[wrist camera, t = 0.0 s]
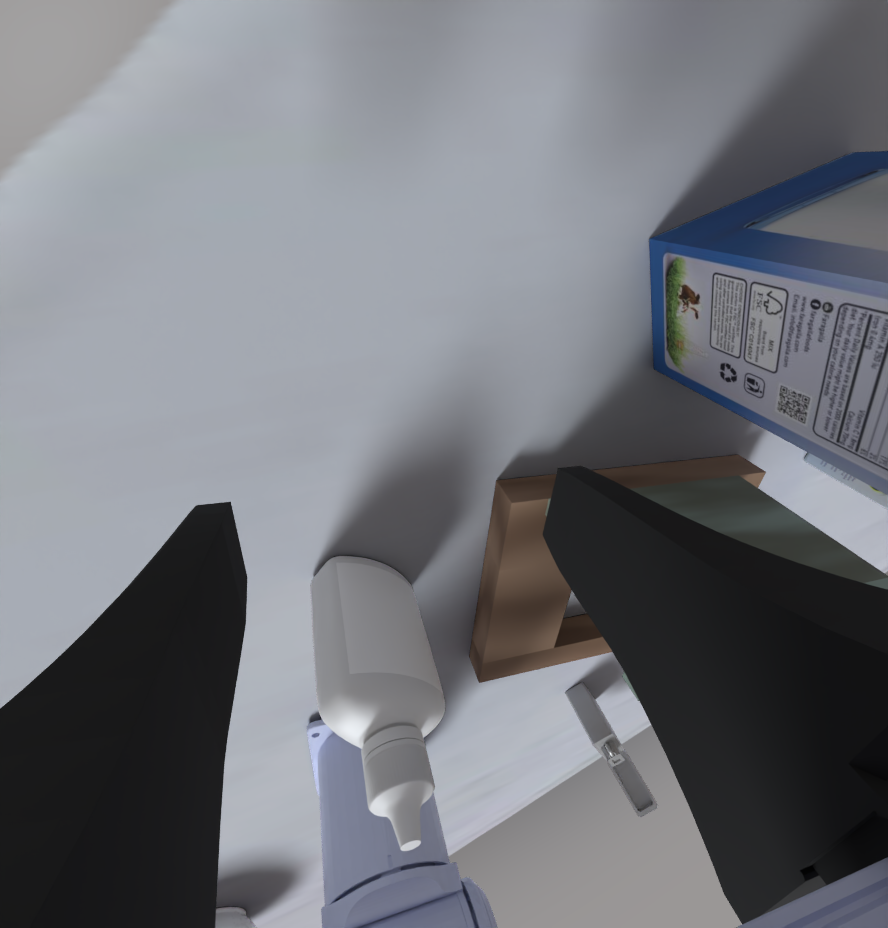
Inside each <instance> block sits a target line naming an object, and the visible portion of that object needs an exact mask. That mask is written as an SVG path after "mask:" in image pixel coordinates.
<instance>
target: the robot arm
mask: <svg viewBox="0 0 888 928" xmlns="http://www.w3.org/2000/svg"><path fill="white" fill-rule="evenodd" d="M542 535H543V537H544V539H545V542H546V544H547V546H548V548H549V550H550V553H551V555H552V557H553V559H554V561H555V563H556V565H557V567H558V569H559V571H560V572H561V574H562V576H563V577H564V579H565V580H566V582H567V583H568V585H569V586H570V588H571V590H572V591H573V593H574V594H575V596H576V597H577V599H578V600H579V602H580V603H581V605H582V606H583V608H584V609H585V611H586V612H587V614H588V615H589V617H590V618H591V620H592V621H593V623H594V624H595V626H596V627H597V629H598V630H599V632H600V633H601V635H602V636H603V638H604V639H605V641H606V642H607V644H608V645H609V647H610V649H611V650H612V652H613V653H614V655H615V657H616V658H617V660H618V662H619V663H620V665H621V667H622V668H623V670H624V672H625V674H626V676H627V678H628V680H629V682H630V684H631V685H632V687H633V689H634V691H635V693H636V695H637V697H638V699H639V701H640V703H641V704H642V706H643V708H644V710H645V712H646V714H647V716H648V718H649V721H650V723H651V725H652V727H653V728H654V731H655V733H656V735H657V737H658V739H659V741H660V743H661V745H662V747H663V749H664V751H665V753H666V755H667V758H668V760H669V762H670V764H671V767H672V769H673V771H674V773H675V776H676V778H677V780H678V782H679V784H680V787H681V789H682V791H683V793H684V795H685V798H686V800H687V802H688V804H689V807H690V809H691V812H692V814H693V817H694V819H695V821H696V824H697V826H698V829H699V831H700V833H701V836H702V839H703V841H704V843H705V846H706V848H707V851H708V853H709V856H710V858H711V861H712V863H713V866H714V868H715V871H716V874H717V876H718V879H719V882H720V884H721V887H722V889H723V892H724V894H725V896H726V898H727V900H728V901H729V903H730V904H731V906H732V908H733V909H734V911H735V913H736V914H737V916H738V918H739V919H740V921H741V923H742V925H740V926H738V927H736V928H888V589H884V588H880V587H876V586H873V585H869V584H865V583H862V582H858V581H855V580H851V579H848V578H845V577H841V576H838V575H835V574H832V573H828V572H825V571H822V570H819V569H816V568H813V567H810V566H807V565H804V564H800V563H797V562H795V561H792V560H789V559H786V558H783V557H780V556H777V555H775V554H772V553H769V552H767V551H764V550H762V549H759V548H757V547H754V546H751V545H749V544H746V543H744V542H741V541H738V540H736V539H734V538H731V537H729V536H727V535H724V534H722V533H719V532H717V531H715V530H713V529H711V528H708V527H706V526H704V525H702V524H700V523H697V522H695V521H693V520H691V519H689V518H687V517H685V516H683V515H680V514H678V513H676V512H674V511H672V510H670V509H668V508H666V507H664V506H662V505H660V504H658V503H656V502H654V501H652V500H650V499H648V498H646V497H644V496H642V495H640V494H638V493H636V492H635V491H633V490H631V489H629V488H627V487H625V486H623V485H621V484H619V483H617V482H615V481H613V480H611V479H609V478H607V477H605V476H603V475H601V474H598V473H596V472H594V471H592V470H589V469H587V468H584V467H582V466H575V467H566V468H558V470H557V474H556V479H555V483H554V487H553V491H552V496H551V500H550V504H549V508H548V513H547V517H546V521H545V525H544V530H543V534H542ZM246 602H247V574H246V570H245V565H244V561H243V556H242V552H241V547H240V542H239V538H238V533H237V529H236V524H235V520H234V515H233V510H232V506H231V502H225V503H215V504H205V505H196V506H195V507H194V509H193V510H192V511H191V512H190V513H189V514H188V515H187V517H186V518H185V519H184V520H183V522H182V523H181V524H180V525H179V527H178V528H177V529H176V530H175V532H174V533H173V534H172V535H171V536H170V538H169V539H168V540H167V541H166V543H165V544H164V545H163V546H162V547H161V549H160V550H159V551H158V552H157V553H156V555H155V556H154V557H153V558H152V559H151V560H150V562H149V563H148V564H147V565H146V566H145V567H144V569H143V570H142V571H141V572H140V573H139V574H138V575H137V577H136V578H135V579H134V580H133V581H132V582H131V583H130V585H129V586H128V587H127V588H126V589H125V590H124V591H123V592H122V593H121V595H120V596H119V597H118V598H117V599H116V600H115V601H114V602H113V603H112V604H111V605H110V606H109V607H108V608H107V609H106V610H105V611H104V612H103V613H102V614H101V615H100V617H99V618H98V619H97V620H96V621H95V622H94V623H93V624H92V625H91V626H90V627H89V628H88V629H87V630H86V631H85V632H84V633H83V634H82V635H81V636H80V637H79V638H78V639H77V640H76V641H75V642H74V643H73V644H72V645H71V646H70V647H69V648H68V649H67V650H66V651H65V652H64V653H63V654H62V655H60V656H59V657H58V658H57V659H56V660H55V661H54V662H53V663H52V664H51V665H50V666H49V667H47V668H46V669H45V670H44V671H43V672H42V673H41V674H40V675H39V676H37V677H36V678H35V679H34V680H33V681H32V682H31V683H30V684H29V685H27V686H26V687H25V688H24V689H23V690H22V691H21V692H19V693H18V694H17V695H16V696H15V697H14V698H12V699H11V700H10V701H9V702H8V703H6V704H5V705H4V706H3V707H2V708H0V928H215V921H216V896H217V876H218V858H219V839H220V821H221V805H222V790H223V775H224V762H225V753H226V745H227V737H228V731H229V724H230V718H231V712H232V706H233V700H234V694H235V687H236V681H237V675H238V669H239V663H240V657H241V650H242V644H243V638H244V631H245V624H246ZM307 735H308V741H309V747H310V753H311V759H312V765H313V772H314V778H315V784H316V790H317V794H318V795H319V799H320V819H321V839H322V859H323V880H324V900H325V906H324V907H322V909H321V912H322V928H498V927H497V924H496V921H495V918H494V915H493V912H492V909H491V906H490V904H489V901H488V899H487V897H486V895H485V893H484V891H483V890H482V889H481V888H480V887H479V886H478V885H477V884H475V883H474V881H473V880H472V879H471V878H470V877H469V878H468V877H466V878H463V879H460V875H459V871H458V867H457V863H456V862H453V863H450V862H449V857H448V853H447V849H446V844H445V840H444V836H443V831H442V827H441V823H440V819H439V814H438V810H437V806H436V801H435V797H434V793H432V795H431V797H430V798H429V799H428V800H427V801H426V802H425V803H424V804H422V806H421V809H420V829H421V844H420V845H419V846H418V847H416V848H414V849H412V850H409V851H402V850H401V849H400V846H399V843H398V840H397V837H396V834H395V831H394V828H393V825H392V823H391V821H390V819H389V818H388V817H381V816H377V815H374V814H373V813H372V812H370V810H369V809H368V803H367V795H366V787H365V779H364V771H363V763H362V755H361V750H362V749H361V748H359V747H357V746H355V745H353V744H351V743H349V742H348V741H346V740H344V739H343V738H341V737H340V736H338V735H337V734H336V733H335V732H333V731H332V730H331V729H330V728H329V727H328V726H327V725H326V724H325V723H324V722H323V720H318V721H314V722H311V723H310V724H309V725H308V726H307Z"/></svg>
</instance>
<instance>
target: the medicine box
mask: <svg viewBox="0 0 888 928" xmlns="http://www.w3.org/2000/svg"><path fill="white" fill-rule="evenodd" d="M804 461H805V462H806V463H808V464H809V465H811V466H813V467H814V468H816V469H818V470H819V471H821V472H823V473H824V474H826V475H828V476H830V477H831V478H833V479H835V480H836V481H838V482H840V483H842V484H844V485H845V486H847V487H849V488H851V489H853V490H854V491H856V492H858V493H859V494H861V495H863V496H865V497H867V498H868V499H870V500H872V501H873V502H875V503H877V504H879V505H881V506H882V507H884V508H886V509H887V510H888V495H886V494H884V493H883V492H881V491H879V490H877V489H875V488H873V487H871V486H870V485H868V484H866V483H864V482H862V481H860V480H858V479H857V478H855V477H853V476H851V475H849V474H847V473H845V472H844V471H842V470H840V469H838V468H836V467H834V466H833V465H831V464H829V463H827V462H825V461H823V460H821V459H820V458H818V457H816V456H814V455H812V454H810V453H807V455H806V457H805V458H804Z"/></svg>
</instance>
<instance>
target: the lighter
mask: <svg viewBox="0 0 888 928" xmlns="http://www.w3.org/2000/svg"><path fill="white" fill-rule="evenodd" d="M565 694H566V695H567V697H568V699H569V701H570V703H571V705H572V707H573V709H574V710H575V712H576V714H577V716H578V718H579V720H580V722H581V724H582V726H583V727H584V729H585V731H586V733H587V735H588V737H589V739H590V741H591V742H592V744H593V746H594V747H595V748H596V749H597V751H598V752H599V753H600V754H601V755H602V757H603V758H604V759H605V760H607V763H608V765H609V767H610V769H611V770H612V772H613V774H614V776H615V777H616V779H617V781H618V782H619V784H620V786H621V788H622V789H623V791H624V793H625V795H626V796H627V798H628V800H629V802H630V803H631V805H632V807H633V808H634V810H635V812H636V813H637V815H638V816H640V817H642V816H644V815H646V814H648V813H649V812H651V811H653V810H655V809H656V808H657V803H656V801H655V799H654V797H653V795H652V794H651V792H650V790H649V789H648V787H647V785H646V784H645V782H644V780H643V779H642V777H641V776H640V774H639V772H638V770H637V769H636V767H635V765H634V764H633V762H632V760H631V759H630V757H629V755H628V754H627V752H626V750H625V749H624V748H623V747H622V745H621V743H620V741H619V740H618V738H617V736H616V735H615V733H614V731H613V729H612V728H611V726H610V724H609V723H608V721H607V719H606V717H605V716H604V714H603V712H602V711H601V709H600V707H599V705H598V704H597V702H596V700H595V699H594V697H593V696H592V694H591V693H590V691H589V690H588V689H587V687H586V686H585V684H584V683H579V684H578V685H576V686H574V687H573V688H571V689H569V690H567V691H566V692H565Z"/></svg>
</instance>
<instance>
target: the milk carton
mask: <svg viewBox="0 0 888 928" xmlns="http://www.w3.org/2000/svg"><path fill="white" fill-rule="evenodd" d="M649 247H650V275H651V304H652V333H653V361H654V369H655V370H657V371H658V372H660V373H662V374H664V375H666V376H668V377H670V378H671V379H673V380H675V381H677V382H679V383H681V384H682V385H684V386H686V387H688V388H690V389H692V390H694V391H695V392H697V393H699V394H701V395H703V396H705V397H707V398H708V399H710V400H712V401H714V402H716V403H718V404H720V405H721V406H723V407H725V408H727V409H729V410H731V411H733V412H734V413H736V414H738V415H740V416H742V417H744V418H745V419H747V420H749V421H751V422H753V423H755V424H757V425H758V426H760V427H762V428H764V429H766V430H768V431H770V432H771V433H773V434H775V435H777V436H779V437H781V438H783V439H784V440H786V441H788V442H790V443H792V444H794V445H795V446H797V447H799V448H801V449H803V450H805V451H807V452H808V453H810V454H812V455H814V456H816V457H818V458H820V459H821V460H823V461H825V462H827V463H829V464H831V465H833V466H834V467H836V468H838V469H840V470H842V471H844V472H845V473H847V474H849V475H851V476H853V477H855V478H857V479H858V480H860V481H862V482H864V483H866V484H868V485H870V486H871V487H873V488H875V489H877V490H879V491H881V492H883V493H884V494H886V495H888V151H880V152H852V153H850V154H848V155H845V156H843V157H841V158H838V159H836V160H833V161H831V162H829V163H826V164H824V165H822V166H819V167H817V168H815V169H812V170H810V171H808V172H805V173H803V174H801V175H798V176H796V177H794V178H791V179H789V180H786V181H784V182H782V183H779V184H777V185H775V186H772V187H770V188H768V189H765V190H763V191H761V192H758V193H756V194H754V195H751V196H749V197H747V198H744V199H742V200H739V201H737V202H735V203H732V204H730V205H728V206H725V207H723V208H721V209H718V210H716V211H714V212H711V213H709V214H707V215H704V216H702V217H700V218H697V219H695V220H692V221H690V222H688V223H685V224H683V225H681V226H678V227H676V228H674V229H671V230H669V231H667V232H664V233H662V234H660V235H657V236H655V237H653V238H650V239H649Z"/></svg>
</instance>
